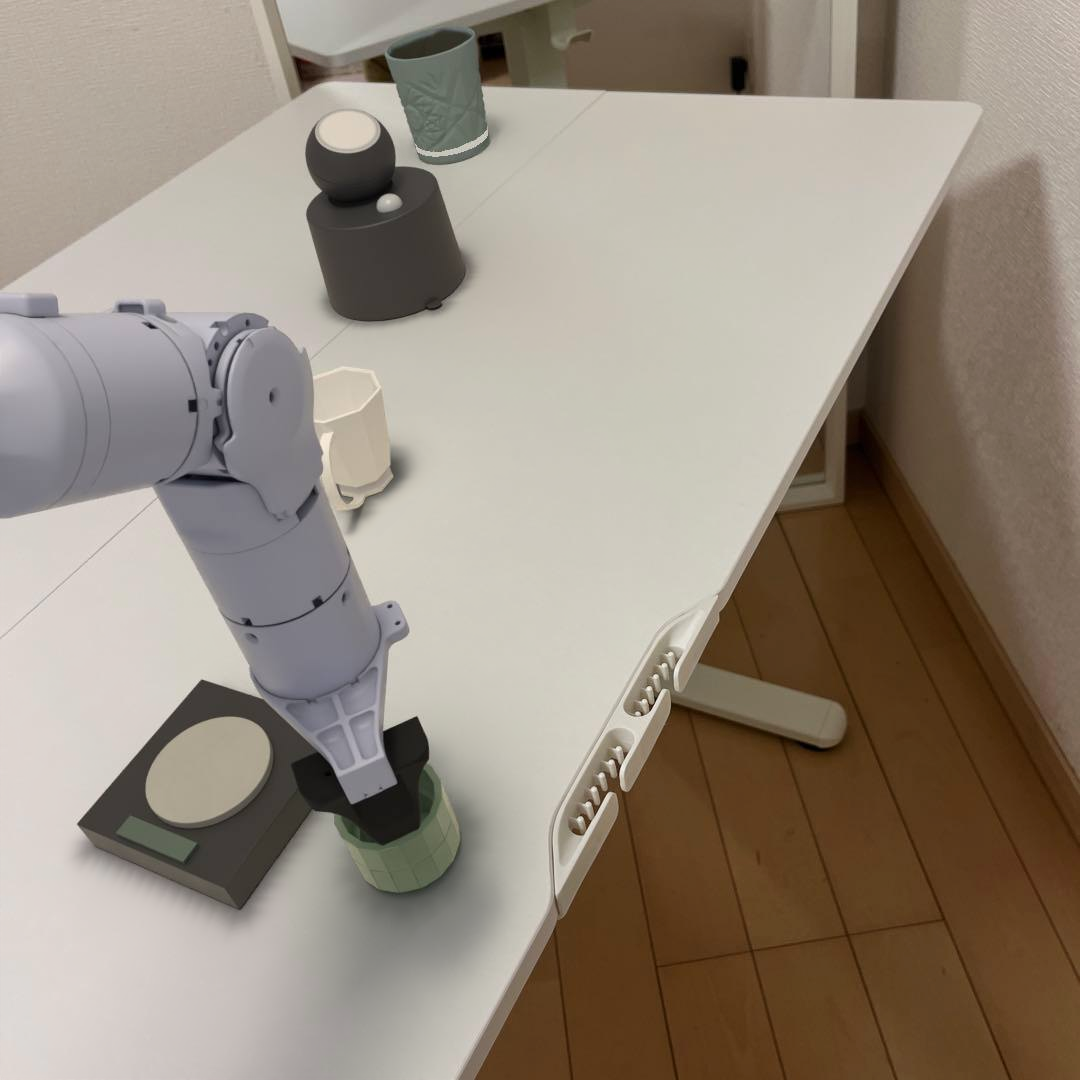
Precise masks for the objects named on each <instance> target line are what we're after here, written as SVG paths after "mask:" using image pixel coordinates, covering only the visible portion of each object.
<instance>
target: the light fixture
mask: <svg viewBox="0 0 1080 1080" xmlns="http://www.w3.org/2000/svg"><path fill="white" fill-rule="evenodd" d="M396 153H397V152H396V147H395V144H394V141H393V137H392V136H391V134H390V133H389V131H388V129H387V128H386V126H385V125H383V123H381V121H380V120H379V119H377V117H375V116H374V115H372V114H371V113H368V112H367V111H364V110H361V109H356V108H341V109H337V110H332V111H330V112H328V113H326V114H325V115H323V116H322V117H321V118H320V119H319V120H318V121H317V122H316V123H315V124H314V125H313V127H312V128H311V131H310V132H309V135H308V136H307V139H306V143H305V152H304V155H305V156H304V157H305V162H306V167H307V170H308V173H309V175H310V177H311V179H312V182H313V183H314V184H315V185H316V187H317V188H318V189H319V190H320V192H319V193H318V194H316V196H314V198H313V199H311V201H310V202H309V204H308V205H307V208H306V210H305V211H306V212H305V217H306V221H307V224H308V228H309V232H310V235H311V240H312V242H313V246H314V249H315V253H316V256H317V260H318V264H319V267H320V272H321V274H322V278H323V281H324V282H323V283H324V285H325V288H326V292H327V293H326V294H327V296H328V300H329V303H330V305H331V307H332V309H333V310H334V311H335V312H336V313H337V314H339V315H341V316H343V317H345V318H349V319H351V320H357V321H368V322H369V321H385V320H391V319H398V318H401V317H406V316H409V315H412V314H415V313H418V312H421V311H423V310H425V309H427V308H428V309H435V308H438V307H440V306H441V305H442V303H443V302H442V300H444V299H446V298H447V297H449V296H450V295H451V294H452V293H453V292H454V291H455V290H456V289H457V288H458V287H459V286H460V284H461V283H462V281H463V279H464V276H465V273H466V266H465V263H464V259H463V256H462V252H461V251H460V246H459V244H458V241H457V237H456V234H455V231H454V228H453V226H452V221H451V219H450V216H449V213H448V209H447V206H446V202H445V199H444V198H443V194H442V191H441V188H440V185H439V182H438V179H437V177H436V176H435V175H434V174H433V173H432V172H431V171H428V170H426V169H424V168H420V167H416V166H403V165H402V166H399V165H398V166H397V165H396V163H397V162H396V161H397V159H396V157H397V155H396Z"/></svg>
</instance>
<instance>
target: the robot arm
mask: <svg viewBox="0 0 1080 1080" xmlns="http://www.w3.org/2000/svg"><path fill="white" fill-rule="evenodd" d="M59 310H60V309H59V300H58V297H57V295H56V294H54V293H52V292H0V520H4V519H13V518H17V517H21V516H26V515H30V514H31V515H32V514H35V513H40V512H45V511H49V510H53V509H58V508H63V507H68V506H71V505H76V504H81V503H85V502H90V501H94V500H99V499H103V498H107V497H111V496H116V495H117V496H118V495H122V494H127V493H130V492H135V491H139V490H143V489H149V488H152V490H153V492H154V493H155V495H156V497H157V498H158V500H159V502H160V504H161V506H162V508H163V510H164V511H165V513H166V515H167V517H168V519H169V521H170V522H171V524H172V526H173V528H174V530H175V532H176V534H177V536H178V537H179V539H180V541H181V543H182V544H183V546H184V548H185V550H186V552H187V553H188V555H189V557H190V559H191V561H192V562H193V564H194V566H195V568H196V570H197V572H198V574H199V576H200V577H201V579H202V581H203V583H204V585H205V586H206V588H207V590H208V592H209V594H210V597H212V600H213V602H214V603H215V605H216V607H217V609H218V611H219V613H220V615H221V617H222V619H223V621H224V622H225V624H226V626H227V627H228V629H229V631H230V633H231V635H232V637H233V638H234V641H235V642H236V644H237V646H238V648H239V650H240V651H241V654H242V655H243V657H244V659H245V661H246V662H247V664H248V666H249V667H248V671H249V676H250V679H251V681H252V684H253V686H254V687H255V689H256V691H257V693H258V695H259V696H260V698H261V699H264V700H265V701H266V702H267V703H268V704H269V705H270V706H271V707H272V708H273V709H274V710H275V711H276V712H277V713H278V714H279V715H280V716H281V717H282V718H283V719H285V720H286V721H287V722H288V723H289V724H290V725H291V726H292V727H293V728H294V729H295V730H296V731H297V732H298V733H299V734H300V735H301V736H302V737H304V738H305V739H306V740H307V741H308V742H309V743H310V744H311V745H312V746H313V747H314V748H315V749H316V750H317V751H318V752H316V753H313V754H311V755H309V756H307V757H305V758H302V759H300V760H298V761H296V762H293V763H291V767H292V770H293V773H294V776H295V780H296V783H297V786H298V789H299V792H300V793H301V795H302V797H303V799H304V800H305V802H306V803H307V804H308V805H309V806H310V807H311V808H312V809H311V810H313V811H314V812H319V813H328V814H333V815H334V814H337V815H340V816H343V817H345V818H346V819H348V820H350V821H351V822H352V823H353V824H355V825H356V826H357V827H358V828H359V829H361V830H362V831H363V832H364V833H365V834H366V835H367V836H369V837H370V838H371V839H372V840H374V841H375V842H376V843H378V844H379V845H382V846H384V845H386V844H388V843H390V842H392V841H394V840H396V839H399V838H401V837H403V836H405V835H407V834H409V833H411V832H413V831H416V830H418V829H419V827H420V823H421V811H420V801H419V779H420V775H421V772H422V770H423V768H424V766H425V764H426V763H427V764H428V761H429V760H430V744H429V743H430V742H429V740H428V737H427V734H426V732H425V730H424V728H423V726H422V723H421V721H420V718H419V716H418V715H415V716H413V717H411V718H409V719H407V720H405V721H402V722H400V723H397V724H396V725H393V726H391V727H389V728H387V729H384V726H385V725H384V724H385V709H386V696H387V682H388V669H389V668H388V667H389V666H388V665H389V652H390V649H391V647H392V646H393V645H394V644H396V643H397V642H400V641H403V640H404V639H405V638H406V637H408V635H409V634H410V626H409V624H408V621H407V618H406V617H405V615H404V612H403V610H402V608H401V606H400V604H399V603H398V602H397V601H395V600H387V601H384V602H381V603H379V604H376V605H375V604H374V605H372V604H371V602H370V599H369V596H368V593H367V591H366V589H365V587H364V584H363V582H362V579H361V577H360V575H359V572H358V570H357V567H356V565H355V562H354V560H353V558H352V556H351V553H350V550H349V547H348V545H347V543H346V540H345V538H344V535H343V532H342V530H341V527H340V526H339V523H338V520H337V518H336V516H335V513H334V511H333V508H332V505H331V503H330V501H329V499H328V496H327V493H326V491H325V488H324V485H323V483H322V482H321V479H320V478H321V474H322V472H323V463H322V455H323V454H324V453H323V450H322V448H321V445H320V443H319V440H318V437H317V435H316V431H315V427H314V418H313V408H314V386H313V376H314V375H313V370H312V367H311V365H312V364H311V362H310V357H309V354H308V352H307V349H306V347H304V346H302V347H300V348H299V349H298V347H297V346H296V344H295V343H294V342H293V340H292V339H291V338H290V337H289V336H288V335H287V334H285V333H284V332H283V331H281V330H279V329H278V328H277V327H276V326H275V325H272V326H271V325H270V326H269V319H267V318H266V317H264V316H263V315H260V314H257V313H254V312H231V311H230V312H229V311H228V312H225V311H224V312H218V311H216V312H213V311H211V312H209V311H199V312H198V311H167V308H166V304H165V302H163V300H161V299H159V298H119V299H117V300H116V301H115V302H114V305H113V307H110V308H108V309H106V310H104V311H102V312H60V311H59Z"/></svg>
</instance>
